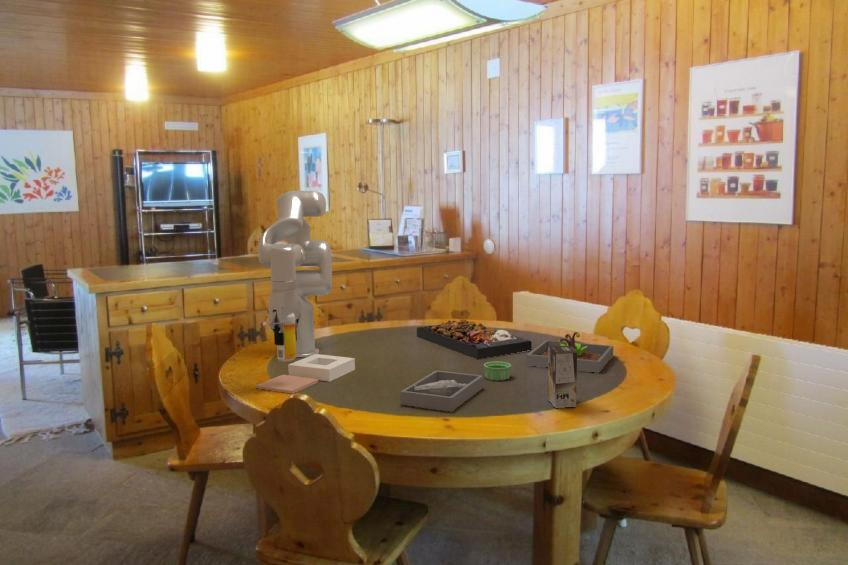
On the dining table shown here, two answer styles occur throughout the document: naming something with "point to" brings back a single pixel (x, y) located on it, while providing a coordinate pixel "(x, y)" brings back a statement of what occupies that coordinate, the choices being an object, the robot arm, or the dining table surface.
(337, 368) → the frame
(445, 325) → the food platter
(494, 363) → the ramekin
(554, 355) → the coffee box
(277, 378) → the coaster tile
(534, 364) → the planter frame
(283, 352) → the beer can
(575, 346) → the plant
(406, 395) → the grey tray
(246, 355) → the dining table surface
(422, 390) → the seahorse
